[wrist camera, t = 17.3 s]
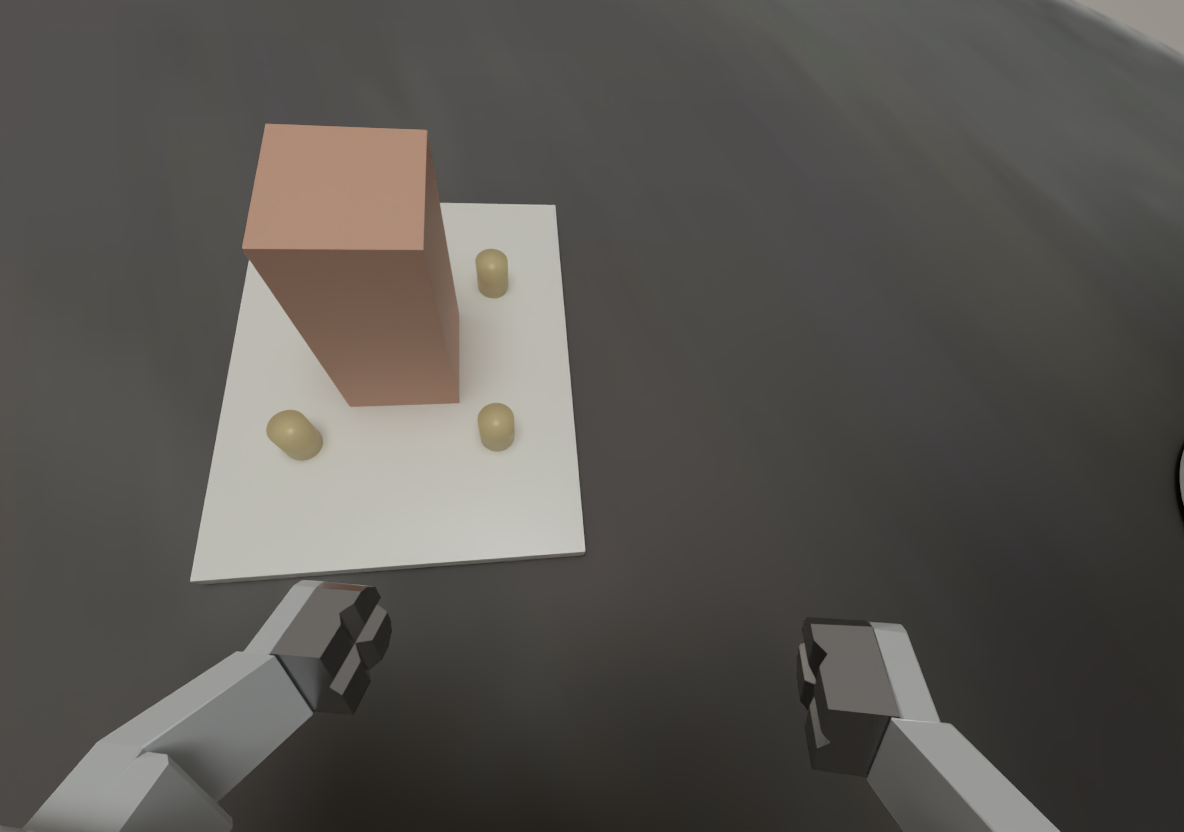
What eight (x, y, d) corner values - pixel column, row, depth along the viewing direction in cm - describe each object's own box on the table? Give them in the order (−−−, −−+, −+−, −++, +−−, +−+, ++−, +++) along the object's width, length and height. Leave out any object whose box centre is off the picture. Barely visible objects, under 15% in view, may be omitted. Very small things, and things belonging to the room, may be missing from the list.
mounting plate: (554, 217, 33) (557, 178, 30) (582, 555, 25) (590, 543, 22) (267, 213, 31) (243, 169, 28) (203, 584, 23) (160, 575, 20)
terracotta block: (459, 315, 28) (427, 130, 18) (459, 403, 26) (423, 250, 16) (357, 316, 28) (266, 124, 18) (350, 407, 26) (241, 249, 16)
